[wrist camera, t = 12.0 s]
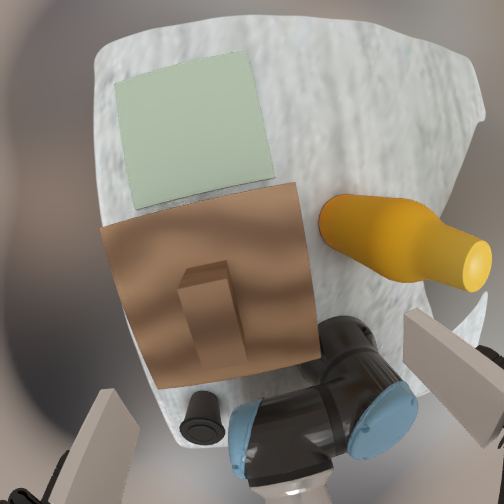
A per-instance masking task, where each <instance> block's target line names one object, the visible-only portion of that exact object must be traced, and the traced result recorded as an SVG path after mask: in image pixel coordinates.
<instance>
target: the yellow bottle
mask: <svg viewBox="0 0 504 504" xmlns="http://www.w3.org/2000/svg"><path fill="white" fill-rule="evenodd" d="M319 228H320V232H321V235H322V237H323V238H324V240H325V241H326V242H327V244H328V245H329V246H331V247H332V248H333V249H335V250H338V251H340V252H342V253H344V254H345V255H347V256H349V257H351V258H352V259H354V260H356V261H358V262H359V263H361V264H363V265H365V266H366V267H368V268H370V269H372V270H373V271H375V272H377V273H378V274H380V275H381V276H383V277H385V278H387V279H390V280H393V281H396V282H401V283H413V282H419V281H423V280H433V281H437V282H439V283H443V284H446V285H449V286H452V287H455V288H458V289H462V290H465V291H469V292H475V291H477V290H479V289H480V288H481V287H482V286H483V285H484V283H485V281H486V280H487V278H488V276H489V273H490V269H491V263H492V255H491V249H490V247H489V245H488V244H487V243H486V242H485V241H483V240H481V239H479V238H477V237H474V236H472V235H470V234H467V233H465V232H462V231H460V230H458V229H455V228H453V227H450V226H448V225H446V224H444V223H443V222H442V221H441V220H440V219H439V218H438V217H437V216H436V215H435V213H434V212H432V211H431V210H430V209H429V208H427V207H426V206H425V205H423V204H421V203H419V202H416V201H414V200H410V199H404V198H390V197H377V196H362V195H351V194H343V195H339V196H336V197H334V198H332V199H331V200H329V201H328V202H327V203H326V204H325V206H324V207H323V209H322V211H321V214H320V218H319Z"/></svg>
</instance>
